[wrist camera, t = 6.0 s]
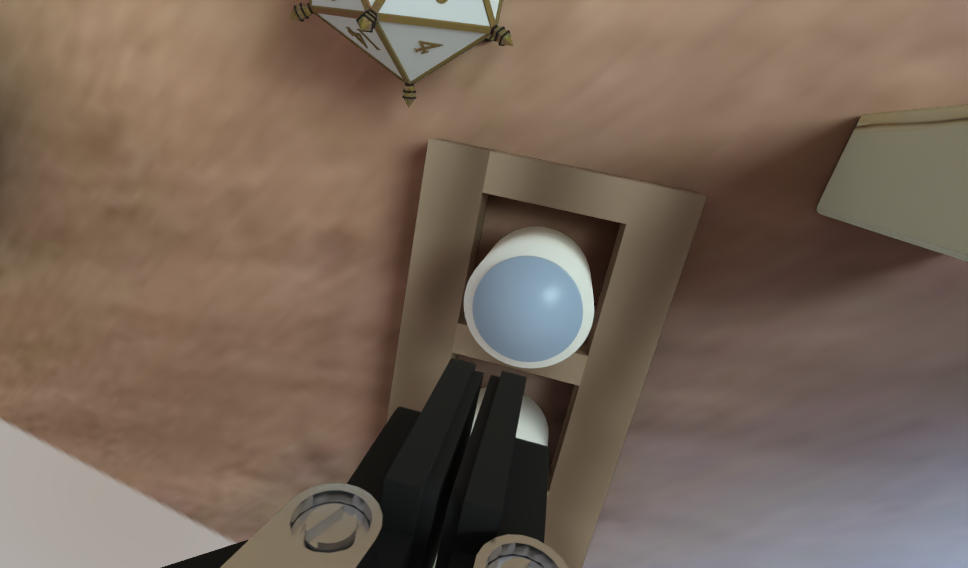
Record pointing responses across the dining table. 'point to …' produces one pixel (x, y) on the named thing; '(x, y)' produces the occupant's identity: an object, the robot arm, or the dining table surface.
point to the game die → (411, 31)
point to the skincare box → (906, 178)
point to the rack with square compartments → (616, 324)
